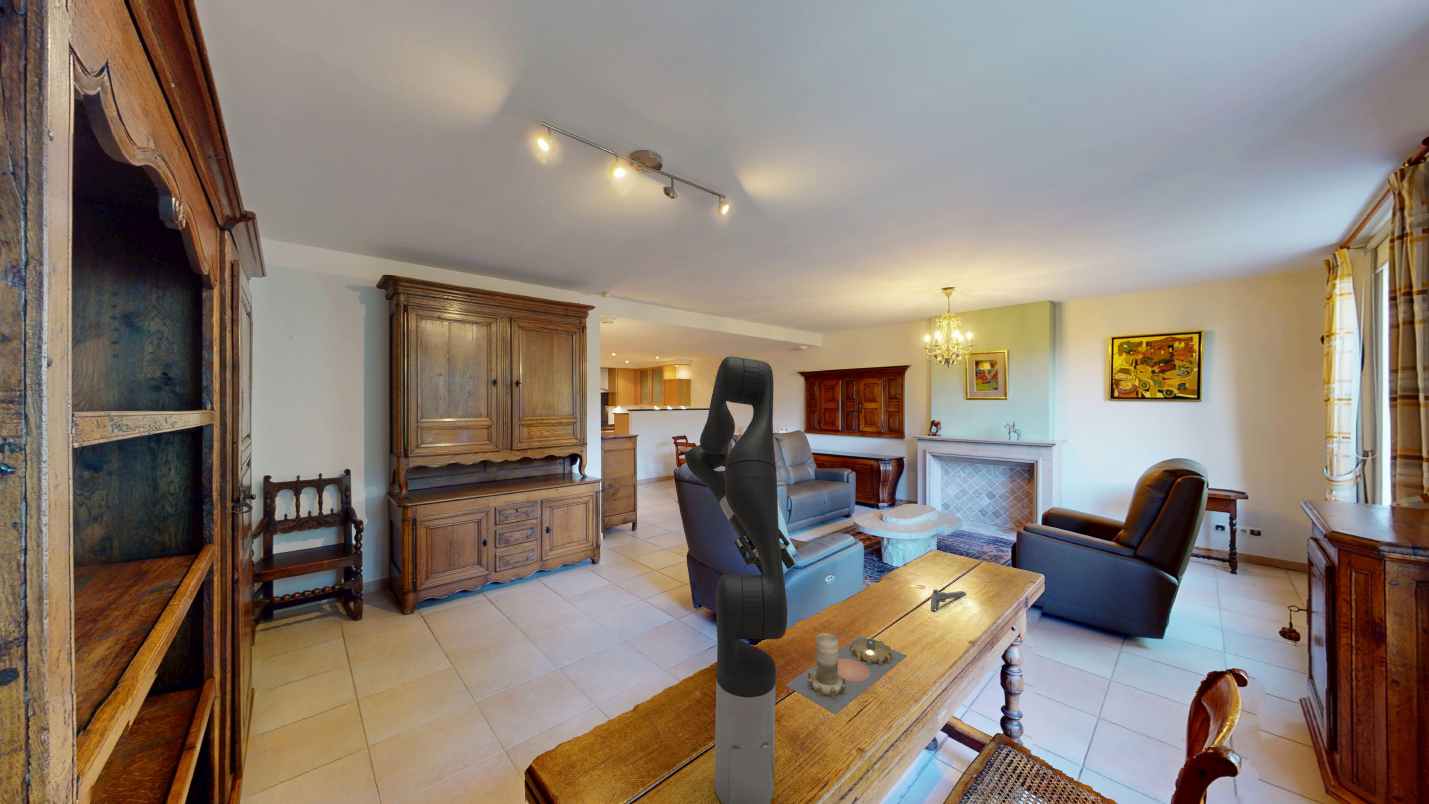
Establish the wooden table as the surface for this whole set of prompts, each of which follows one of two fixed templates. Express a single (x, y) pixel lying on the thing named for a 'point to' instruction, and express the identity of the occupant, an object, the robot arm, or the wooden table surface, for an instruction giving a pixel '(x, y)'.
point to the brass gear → (871, 651)
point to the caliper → (943, 597)
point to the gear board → (846, 679)
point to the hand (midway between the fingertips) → (781, 572)
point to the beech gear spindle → (826, 668)
